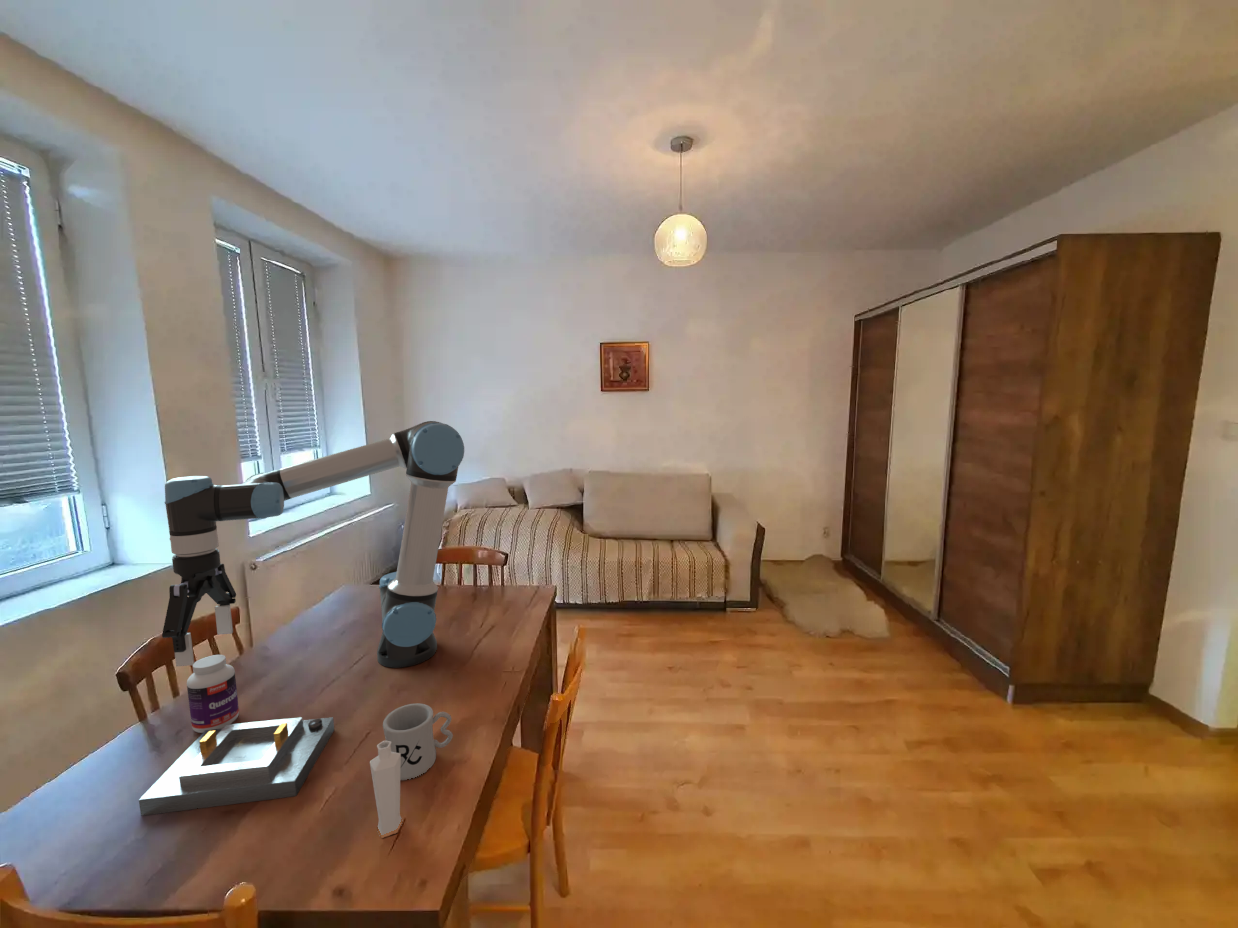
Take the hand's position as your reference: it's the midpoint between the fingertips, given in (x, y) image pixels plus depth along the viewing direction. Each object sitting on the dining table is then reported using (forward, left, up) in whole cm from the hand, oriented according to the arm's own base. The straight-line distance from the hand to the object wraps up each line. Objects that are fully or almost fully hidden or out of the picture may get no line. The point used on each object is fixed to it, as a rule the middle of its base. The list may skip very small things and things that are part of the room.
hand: (206, 648), depth 107 cm
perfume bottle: (-44, +35, -18) cm, 59 cm away
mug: (-46, +20, -18) cm, 53 cm away
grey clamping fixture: (-14, +16, -17) cm, 27 cm away
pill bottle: (0, 0, -18) cm, 18 cm away
